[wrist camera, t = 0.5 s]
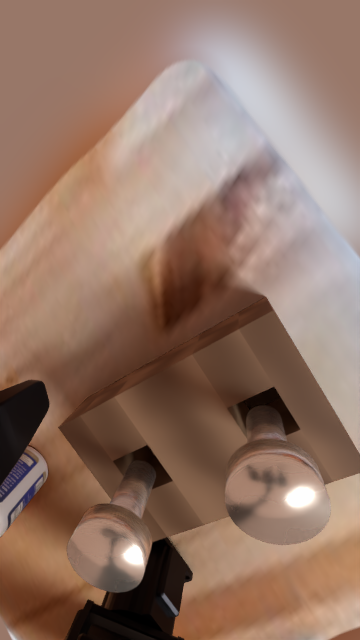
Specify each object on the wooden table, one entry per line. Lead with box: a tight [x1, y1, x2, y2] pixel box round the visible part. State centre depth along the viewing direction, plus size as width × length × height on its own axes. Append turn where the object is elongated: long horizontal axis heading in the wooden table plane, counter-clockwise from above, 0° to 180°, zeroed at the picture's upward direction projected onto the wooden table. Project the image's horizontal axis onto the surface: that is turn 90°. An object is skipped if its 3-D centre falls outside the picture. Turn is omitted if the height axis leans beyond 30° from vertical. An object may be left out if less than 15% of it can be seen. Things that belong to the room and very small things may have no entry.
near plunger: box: [225, 405, 331, 545], centre depth 16 cm, size 4×4×6 cm
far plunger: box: [67, 460, 156, 592], centre depth 18 cm, size 4×4×6 cm
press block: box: [58, 297, 360, 542], centre depth 22 cm, size 18×12×4 cm, turn 124°
